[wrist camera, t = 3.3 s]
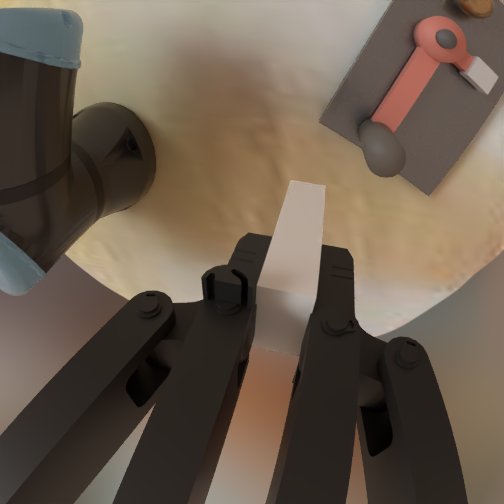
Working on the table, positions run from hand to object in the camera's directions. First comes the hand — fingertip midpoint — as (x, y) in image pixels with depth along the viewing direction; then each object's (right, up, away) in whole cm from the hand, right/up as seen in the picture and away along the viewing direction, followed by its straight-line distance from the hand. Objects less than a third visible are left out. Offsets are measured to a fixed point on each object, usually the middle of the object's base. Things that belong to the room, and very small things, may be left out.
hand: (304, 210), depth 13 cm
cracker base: (+16, +16, +8) cm, 24 cm away
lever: (+14, +13, +9) cm, 20 cm away
